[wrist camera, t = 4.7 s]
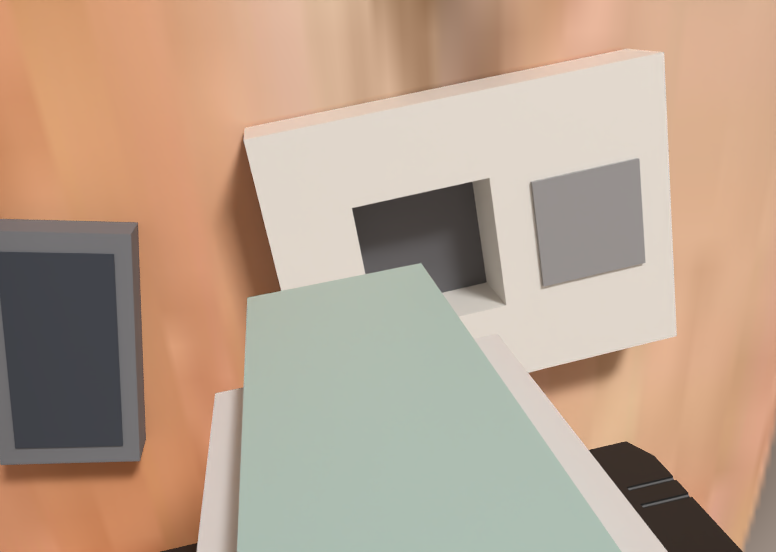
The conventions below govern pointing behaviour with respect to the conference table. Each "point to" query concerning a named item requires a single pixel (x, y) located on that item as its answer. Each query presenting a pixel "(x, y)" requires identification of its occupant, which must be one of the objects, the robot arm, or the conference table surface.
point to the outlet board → (492, 201)
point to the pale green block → (391, 431)
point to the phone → (70, 342)
